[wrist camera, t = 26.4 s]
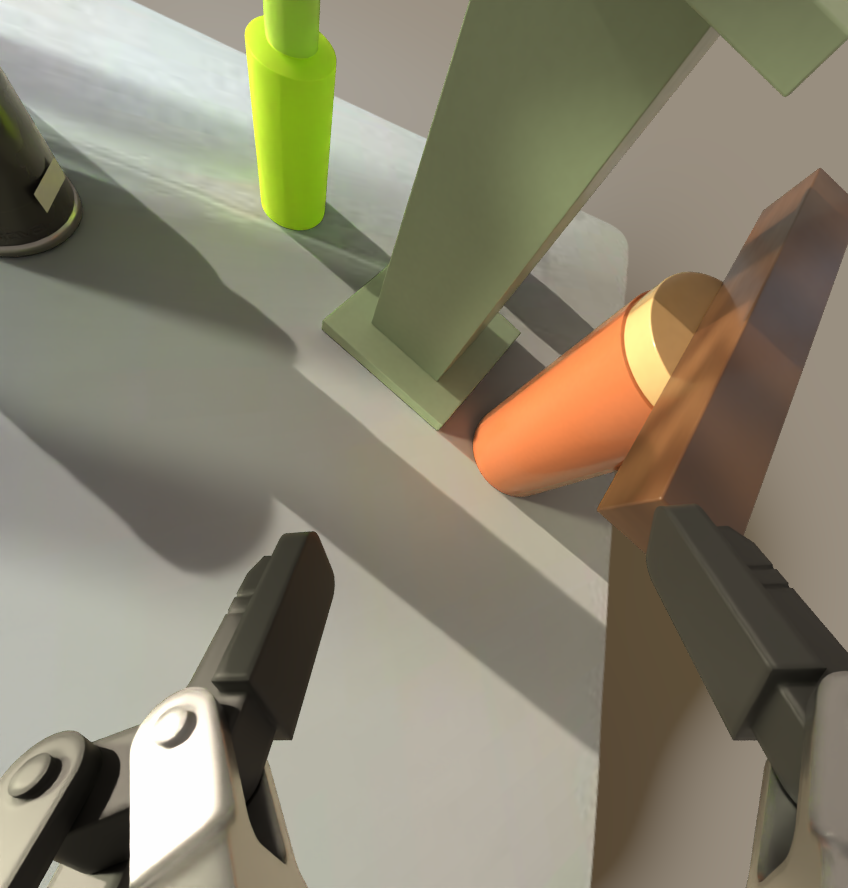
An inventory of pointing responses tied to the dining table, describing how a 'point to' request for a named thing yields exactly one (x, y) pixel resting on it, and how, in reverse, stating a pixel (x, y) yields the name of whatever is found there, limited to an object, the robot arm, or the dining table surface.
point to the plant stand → (538, 162)
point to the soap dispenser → (291, 109)
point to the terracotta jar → (592, 394)
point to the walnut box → (737, 370)
